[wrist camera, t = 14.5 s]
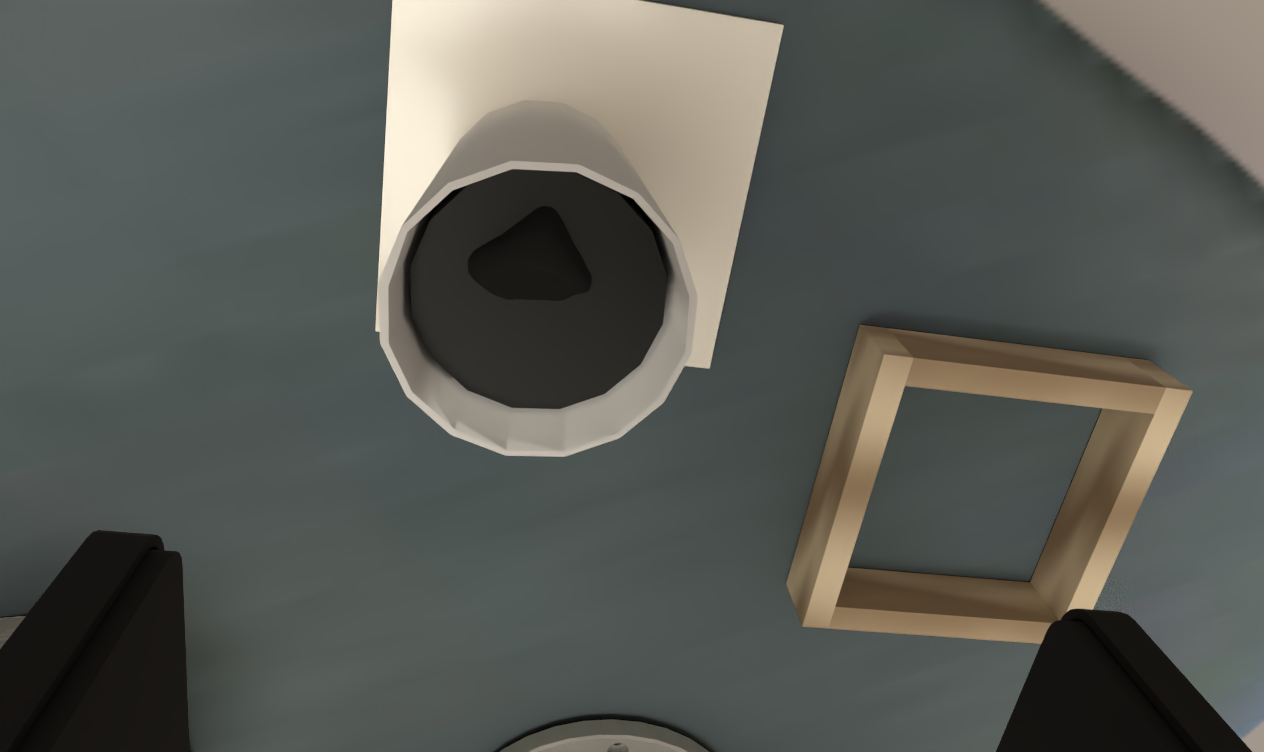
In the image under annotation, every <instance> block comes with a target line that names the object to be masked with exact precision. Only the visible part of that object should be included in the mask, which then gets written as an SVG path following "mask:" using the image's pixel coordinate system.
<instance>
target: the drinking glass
mask: <svg viewBox="0 0 1264 752" xmlns="http://www.w3.org/2000/svg"><path fill="white" fill-rule="evenodd" d="M697 301H698V295H697V292H696V289H695V286H694V283H693V279H692V276H691V273H690V270H689V267H688V264H687V261H686V257H685V254H684V251H683V248H682V245H681V242H680V239H679V238H678V236H677V235H676V233H675V231H674V230H673V228H672V227H671V225H670V224H669V222H668V220H667V219H666V217H665V216H664V214H663V213H662V211H661V210H660V208H659V206H658V205H657V203H656V202H655V200H654V199H653V197H652V195H651V194H650V192H649V191H648V189H647V188H646V186H645V184H644V183H643V181H642V180H641V178H640V177H639V175H638V174H637V172H636V170H635V169H634V167H633V166H632V164H631V163H630V161H629V159H628V158H627V156H626V155H625V153H624V152H623V150H622V148H621V147H620V146H619V145H618V144H617V142H616V141H615V140H614V139H613V138H612V137H611V136H610V134H609V133H608V132H607V131H606V130H605V129H604V128H603V126H602V125H601V124H600V123H599V122H598V121H597V120H596V119H594V118H592V117H590V116H588V115H586V114H584V113H582V112H580V111H578V110H576V109H574V108H572V107H570V106H568V105H566V104H564V103H556V102H540V101H521V102H518V103H515V104H512V105H509V106H507V107H504V108H501V109H498V110H495V111H493V112H490V113H487V114H486V115H485V116H484V117H483V118H482V119H481V120H480V121H479V122H478V123H477V124H476V125H474V126H473V127H472V128H471V129H470V130H469V131H468V132H467V133H466V134H465V135H464V136H463V137H462V138H461V139H460V140H459V142H458V143H457V145H456V146H455V148H454V149H453V151H452V152H451V154H450V155H449V156H448V158H447V159H446V161H445V162H444V164H443V165H442V167H441V168H440V170H439V171H438V173H437V174H436V176H435V177H434V179H433V180H432V182H431V183H430V185H429V186H428V188H427V189H426V191H425V192H424V194H423V195H422V197H421V198H420V200H419V201H418V203H417V204H416V206H415V207H414V209H413V210H412V211H411V213H410V214H409V216H408V217H407V219H406V220H405V222H404V223H403V225H402V226H401V228H400V231H399V233H398V236H397V238H396V240H395V243H394V245H393V248H392V250H391V253H390V255H389V257H388V260H387V262H386V265H385V267H384V270H383V272H382V274H381V277H380V279H379V282H378V305H379V328H380V344H381V346H382V348H383V350H384V352H385V354H386V356H387V358H388V360H389V362H390V364H391V366H392V368H393V370H394V372H395V374H396V376H397V378H398V380H399V382H400V384H401V386H402V388H403V390H404V392H405V394H406V396H407V397H408V398H409V399H410V400H412V401H413V402H414V403H415V404H416V405H417V406H418V407H420V408H421V409H422V410H423V411H424V412H425V413H426V414H427V415H429V416H430V417H431V418H432V419H433V420H434V421H435V422H437V423H438V424H439V425H440V426H441V427H442V428H443V429H445V430H446V431H447V432H448V433H449V434H450V435H453V436H455V437H458V438H461V439H463V440H466V441H468V442H471V443H474V444H476V445H479V446H482V447H484V448H487V449H490V450H492V451H495V452H498V453H500V454H503V455H505V456H554V457H565V456H568V455H571V454H574V453H577V452H580V451H583V450H586V449H589V448H592V447H595V446H598V445H601V444H604V443H607V442H610V441H613V440H616V439H619V438H620V437H622V436H623V435H624V434H625V433H627V432H628V431H629V430H630V429H632V428H633V427H634V426H635V425H637V424H638V423H639V422H640V421H642V420H643V419H644V418H645V417H647V416H648V415H649V414H650V413H651V412H653V411H654V410H655V409H656V408H658V407H659V406H660V405H661V404H663V403H664V401H665V400H666V398H667V396H668V394H669V392H670V391H671V389H672V387H673V385H674V384H675V382H676V380H677V378H678V377H679V375H680V373H681V371H682V370H683V368H684V366H685V364H686V362H687V361H688V359H689V357H690V355H691V354H692V345H693V336H694V328H695V319H696V310H697Z"/></svg>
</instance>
